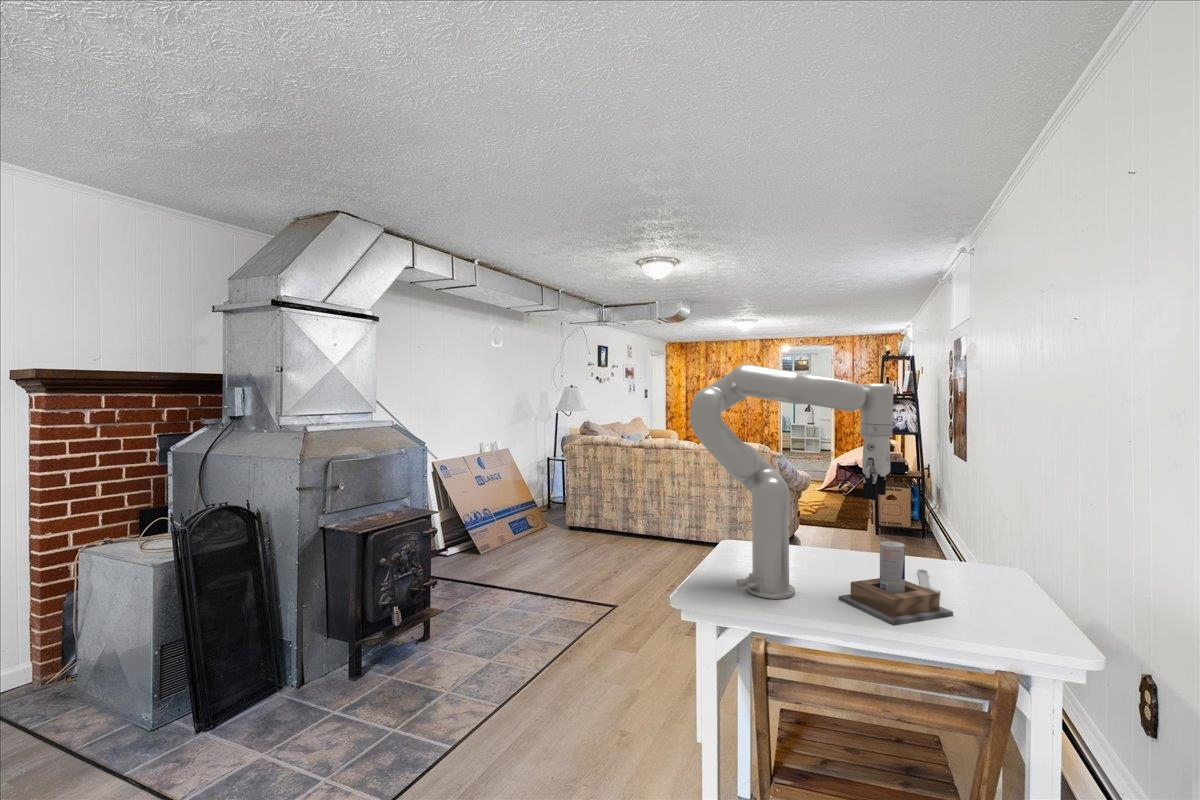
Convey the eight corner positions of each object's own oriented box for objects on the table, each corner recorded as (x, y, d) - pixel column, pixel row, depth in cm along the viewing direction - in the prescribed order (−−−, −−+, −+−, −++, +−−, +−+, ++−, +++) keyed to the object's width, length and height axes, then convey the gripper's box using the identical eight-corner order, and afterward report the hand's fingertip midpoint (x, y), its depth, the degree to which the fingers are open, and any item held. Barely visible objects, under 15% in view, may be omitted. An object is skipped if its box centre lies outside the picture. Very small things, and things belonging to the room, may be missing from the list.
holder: (893, 625, 136) (893, 603, 136) (838, 599, 153) (838, 580, 153) (953, 615, 141) (953, 594, 141) (894, 592, 159) (894, 573, 159)
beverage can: (909, 607, 145) (909, 545, 144) (887, 607, 144) (887, 546, 144) (896, 599, 150) (896, 540, 150) (875, 599, 150) (875, 540, 150)
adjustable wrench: (916, 574, 176) (916, 568, 176) (941, 577, 173) (941, 571, 173) (911, 598, 155) (911, 591, 155) (940, 603, 151) (940, 596, 151)
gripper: (884, 433, 144) (882, 503, 144) (899, 430, 158) (897, 494, 158) (851, 431, 149) (850, 499, 149) (869, 428, 162) (867, 491, 163)
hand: (874, 496), depth 154 cm, fingers open, 9 cm apart
